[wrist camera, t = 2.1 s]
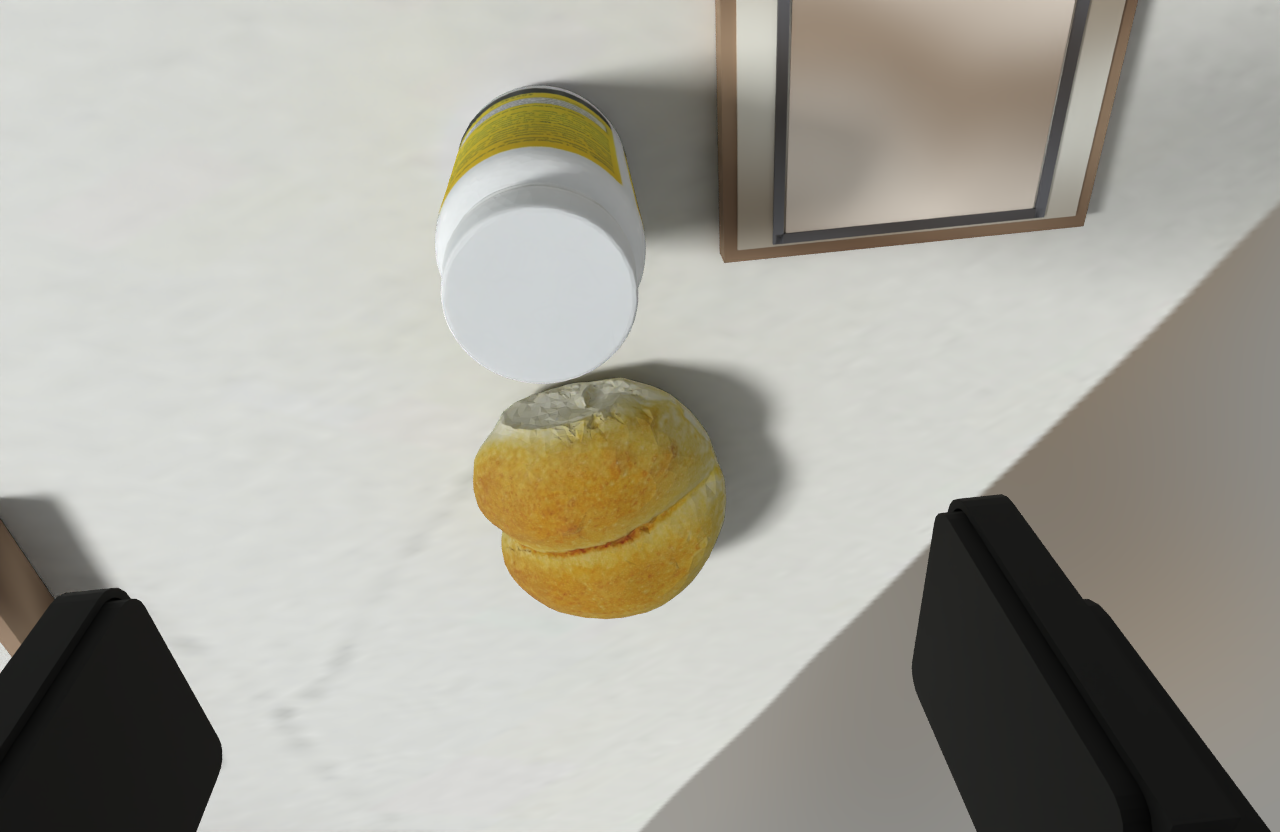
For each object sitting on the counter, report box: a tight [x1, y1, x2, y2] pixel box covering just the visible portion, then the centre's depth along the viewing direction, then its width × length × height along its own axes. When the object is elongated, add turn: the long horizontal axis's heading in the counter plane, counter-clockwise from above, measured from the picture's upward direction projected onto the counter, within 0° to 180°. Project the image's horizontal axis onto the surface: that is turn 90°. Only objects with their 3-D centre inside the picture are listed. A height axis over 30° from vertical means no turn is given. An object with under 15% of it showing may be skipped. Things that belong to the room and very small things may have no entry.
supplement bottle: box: [435, 86, 646, 384], centre depth 20 cm, size 5×5×8 cm
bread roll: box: [473, 377, 726, 619], centre depth 28 cm, size 8×9×4 cm
